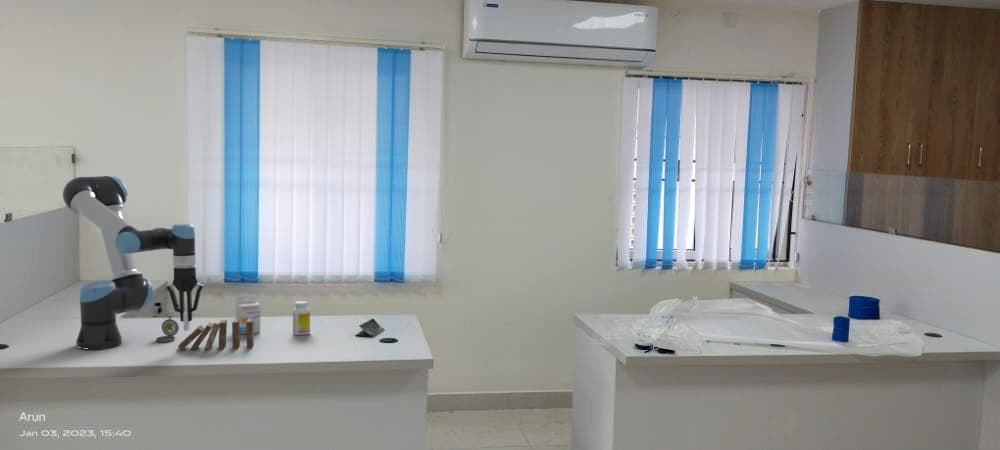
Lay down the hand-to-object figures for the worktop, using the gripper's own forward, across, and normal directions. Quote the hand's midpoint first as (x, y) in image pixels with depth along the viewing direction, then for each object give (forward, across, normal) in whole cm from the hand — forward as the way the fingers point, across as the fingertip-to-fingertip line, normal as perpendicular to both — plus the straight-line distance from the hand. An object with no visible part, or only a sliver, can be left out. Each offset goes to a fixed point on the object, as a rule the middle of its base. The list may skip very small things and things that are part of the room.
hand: (186, 329), depth 291 cm
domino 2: (+7, +3, 0) cm, 7 cm away
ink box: (+7, +19, +24) cm, 31 cm away
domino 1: (+6, -2, 0) cm, 7 cm away
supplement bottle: (+8, +40, +19) cm, 45 cm away
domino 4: (+7, +17, 0) cm, 19 cm away
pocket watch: (+7, -10, +15) cm, 20 cm away
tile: (+7, +7, 0) cm, 10 cm away
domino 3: (+7, +12, 0) cm, 14 cm away
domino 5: (+7, +22, 0) cm, 24 cm away
